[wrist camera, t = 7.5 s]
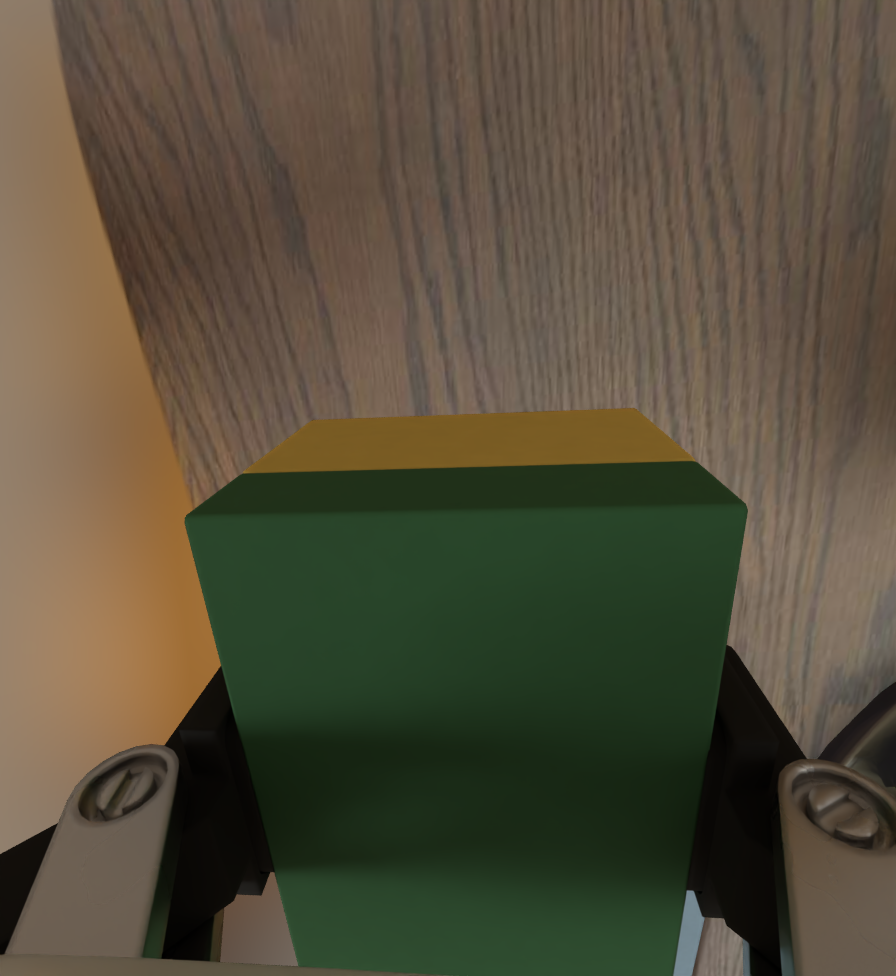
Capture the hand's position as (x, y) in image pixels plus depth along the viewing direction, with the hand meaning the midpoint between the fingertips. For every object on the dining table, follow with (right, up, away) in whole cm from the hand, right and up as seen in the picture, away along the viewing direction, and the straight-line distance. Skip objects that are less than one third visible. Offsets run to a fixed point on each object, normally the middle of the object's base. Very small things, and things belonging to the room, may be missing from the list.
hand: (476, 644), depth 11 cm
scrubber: (0, 0, +1) cm, 1 cm away
